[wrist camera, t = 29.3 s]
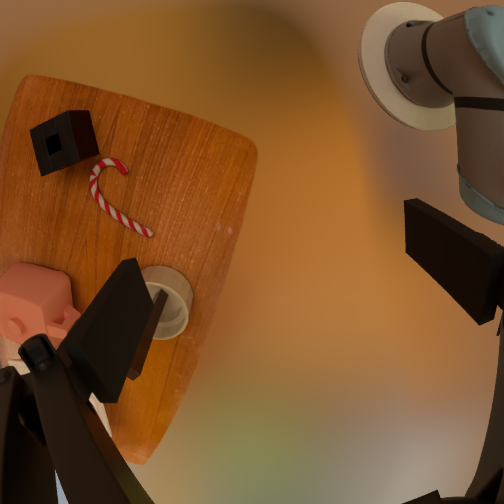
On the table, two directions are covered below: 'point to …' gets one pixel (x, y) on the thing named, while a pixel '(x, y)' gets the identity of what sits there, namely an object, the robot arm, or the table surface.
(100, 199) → the candy cane
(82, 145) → the stick stand
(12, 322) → the teapot
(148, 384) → the table surface
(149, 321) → the stick
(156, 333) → the mixing bowl
